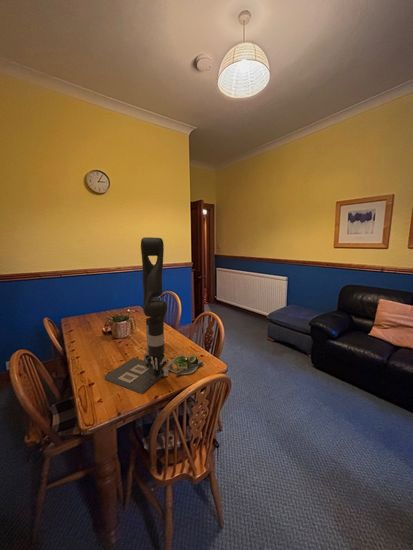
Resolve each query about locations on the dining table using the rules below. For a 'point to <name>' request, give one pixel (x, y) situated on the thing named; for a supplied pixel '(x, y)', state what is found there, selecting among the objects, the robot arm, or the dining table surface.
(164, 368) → the cable arm
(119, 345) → the dining table surface
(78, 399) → the dining table surface
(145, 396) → the dining table surface
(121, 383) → the grey flat slab
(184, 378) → the dining table surface
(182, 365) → the salad plate
